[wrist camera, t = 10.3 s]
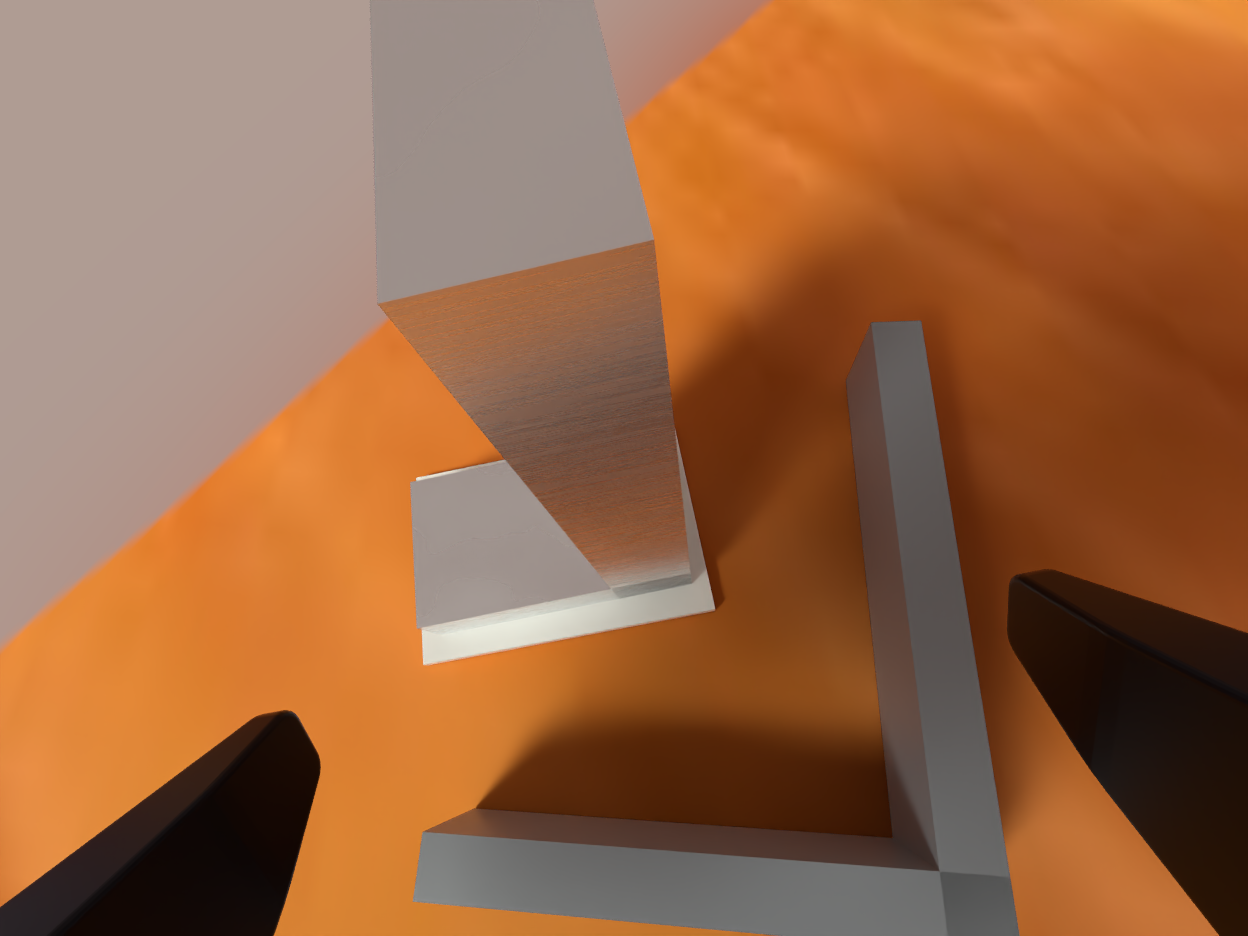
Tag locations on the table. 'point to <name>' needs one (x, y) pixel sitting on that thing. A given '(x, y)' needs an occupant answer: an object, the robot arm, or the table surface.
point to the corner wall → (911, 731)
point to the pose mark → (583, 607)
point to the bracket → (525, 308)
